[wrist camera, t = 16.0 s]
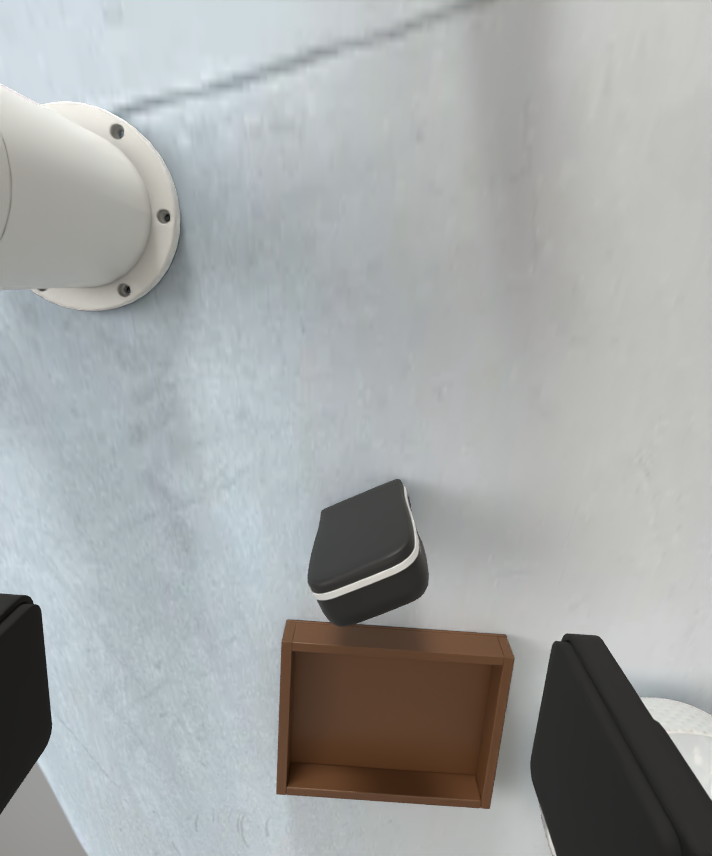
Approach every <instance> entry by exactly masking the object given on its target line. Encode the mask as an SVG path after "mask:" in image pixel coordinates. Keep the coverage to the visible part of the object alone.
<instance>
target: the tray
mask: <svg viewBox="0 0 712 856" xmlns="http://www.w3.org/2000/svg"><path fill="white" fill-rule="evenodd" d="M513 664H514V655H513V653H512V650H511V648H510V645H509V642H508V640H507V636H506V635H501V634H487V633H473V632H458V631H444V630H429V629H415V628H400V627H386V626H372V625H357V624H353V625H350V626H345V627H341V626H336V625H334V624H332V623H328V622H314V621H299V620H287V621H286V625H285V630H284V634H283V638H282V646H281V675H280V704H279V733H278V762H277V790H276V794H281V795H286V794H287V795H298V796H313V797H327V798H341V799H356V800H370V801H384V802H398V803H413V804H427V805H441V806H455V807H470V808H484V809H490V804H491V798H492V792H493V786H494V780H495V773H496V767H497V761H498V755H499V749H500V743H501V737H502V731H503V725H504V719H505V713H506V707H507V701H508V694H509V688H510V682H511V676H512V670H513Z"/></svg>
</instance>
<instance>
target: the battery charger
mask: <svg viewBox="0 0 712 856" xmlns="http://www.w3.org/2000/svg"><path fill="white" fill-rule="evenodd" d="M411 511H412V510H411V504H410V500H409V497H408V494H407V489H406V487H405V485H403V484H402V482H401V480H399V479H396V480H393V481H391V482H388V483H386V484H383V485H381V486H378V487H376V488H373V489H371V490H368V491H366V492H364V493H361V494H359V495H356V496H354V497H352V498H349V499H347V500H345V501H342V502H340V503H337V504H335V505H333V506H330V507H328V508H326V509H324V510H322V512H321V517H320V523H319V528H318V532H317V535H316V538H315V542H314V545H313V549H312V553H311V558H310V563H309V570H308V584H309V589H310V592H311V593H312V595H313V597H314V598H315V599H316V600H317V601H318V603H319V605H320V607H321V609H322V611H323V613H324V614H325V616H326V617H327V619H328V620H329V621H330V622H331V623H332V624H334V625H336V626H341V627H345V626H350V625H353V624H356V623H359V622H362V621H365V620H367V619H370V618H373V617H375V616H378V615H381V614H383V613H386V612H388V611H391V610H393V609H396V608H398V607H401V606H403V605H406V604H408V603H411V602H413V601H415V600H416V599H418V598H419V597H421V596H422V595H423V594H424V592H425V590H426V588H427V586H428V578H429V573H428V565H427V559H426V554H425V550H424V547H423V544H422V541H421V539H420V537H419V534H418V532H417V529H416V525H415V522H414V519H413V515H412V512H411Z"/></svg>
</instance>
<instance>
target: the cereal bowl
mask: <svg viewBox="0 0 712 856" xmlns="http://www.w3.org/2000/svg"><path fill="white" fill-rule="evenodd" d="M640 699H641V700H642V702H643V703H644V705H645V707H646V708H647V710H648V711H649V713H650V714H651V716H652V717H653V719H654V720H656V721H658V722H659V723H660V724H661V725H662V727H663V728H664V729H665V730H666V732H667V733H668V735H669V736H670V738H671V739H672V741H673V742H674V744H675V745H676V747H677V748H678V750H679V751H680V753H681V754H682V756H683V758H684V759H685V761H686V762H687V764H688V765H689V767H690V768H691V770H692V771H693V773H694V774H695V776H696V777H697V779H698V780H699V782H700V783H701V785H702V786H703V788H704V789H705V791H706V792H707V794H708V795H709V797H710V798H711V800H712V715H710V714H708V713H706V712H704V711H703V710H701V709H698V708H695V707H694V706H692V705H687V704H685V703H683V702H677V701H674V700H671V699H663V698H651V697H647V698H646V697H640ZM540 810H541V807H540ZM541 818H542V822H543V827H544V830H545V834H546V838H547V840H548V844H549V848H550V850H551V853H552V856H557V855H556V852H555V849H554V846H553V843H552V840H551V837H550V834H549V831H548V828H547V825H546V822H545V819H544V816H543V813H542V810H541Z"/></svg>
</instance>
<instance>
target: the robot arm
mask: <svg viewBox="0 0 712 856" xmlns="http://www.w3.org/2000/svg"><path fill="white" fill-rule="evenodd" d="M122 131H124V136H123V137H122V138H120V133H121V132H122ZM167 214H169V215H170V221H169V222H167V221H166V220H165V216H166V215H167ZM179 235H180V208H179V201H178V195H177V192H176V189H175V186H174V183H173V180H172V177H171V174H170V172H169V170H168V169H167V167H166V165H165V163H164V161H163V159H162V157H161V156H160V155H159V153H158V152H157V151H156V149H155V148H154V147H153V146H152V144H151V143H150V142H149V140H147V139H146V138H145V137H144V136H143V135H142V134H141V133H140V132H139V131H138V130H136V129H135V128H134V127H133V126H132V125H130V124H129V123H127V122H126V121H124V120H123V119H121V118H120V117H118V116H116V115H114V114H112V113H110V112H108V111H106V110H104V109H102V108H99V107H96V106H92V105H88V104H85V103H80V102H65V101H61V102H54V103H48V104H42V105H40V104H38V103H36V102H34V101H32V100H31V99H29V98H27V97H25V96H23V95H21V94H19V93H17V92H15V91H14V90H12V89H10V88H8V87H6V86H4V85H2V84H0V290H19V289H30V290H31V291H32V292H34V293H35V294H37V295H39V296H41V297H42V298H44V299H46V300H48V301H49V302H52V303H55V304H57V305H60V306H63V307H66V308H70V309H76V310H82V311H101V310H109V309H115V308H119V307H121V306H124V305H127V304H130V303H133V302H134V301H136V300H138V299H139V298H141V297H142V296H144V295H146V294H147V293H148V292H149V291H150V290H151V289H152V288H153V287H155V286H156V285H157V284H158V283H159V282H160V280H161V279H162V277H163V276H164V274H165V273H166V271H167V270H168V269H169V267H170V264H171V262H172V260H173V257H174V255H175V253H176V249H177V244H178V240H179ZM128 286H129V287H130V290H131V292H130V294H129V293H128V292H127V290H126V289H127V287H128ZM51 730H52V720H51V709H50V699H49V688H48V677H47V667H46V656H45V645H44V635H43V624H42V613H41V608H40V607H39V606H38V605H36V604H33V601H32V599H31V597H29V596H27V595H13V594H0V814H1V813H2V811H3V810H4V808H5V807H6V805H7V803H8V802H9V801H10V799H11V798H12V796H13V795H14V793H15V792H16V790H17V789H18V788H19V786H20V785H21V783H22V782H23V780H24V779H25V777H26V776H27V774H28V773H29V771H30V770H31V768H32V767H33V765H34V764H35V763H36V761H37V760H38V758H39V757H40V755H41V754H42V752H43V751H44V749H45V748H46V746H47V744H48V741H49V739H50V735H51ZM531 777H532V782H533V785H534V788H535V791H536V794H537V797H538V801H539V804H540V807H541V810H542V813H543V816H544V819H545V822H546V825H547V828H548V831H549V834H550V837H551V840H552V843H553V846H554V849H555V852H556V855H557V856H712V800H711V798H710V797H709V795H708V794H707V792H706V791H705V789H704V788H703V786H702V785H701V783H700V782H699V780H698V779H697V777H696V776H695V774H694V773H693V771H692V770H691V768H690V767H689V765H688V764H687V762H686V761H685V759H684V758H683V756H682V754H681V753H680V751H679V750H678V748H677V747H676V745H675V744H674V742H673V741H672V739H671V738H670V736H669V735H668V733H667V732H666V730H665V729H664V728H663V727H662V725H661V724H660V723H659V722H658V721H656V720H654V719H653V717H652V716H651V714H650V713H649V711H648V710H647V708H646V707H645V705H644V703H643V702H642V700H641V699H640V697H639V696H638V694H637V693H636V691H635V690H634V688H633V686H632V685H631V683H630V682H629V680H628V679H627V677H626V676H625V674H624V673H623V671H622V670H621V668H620V666H619V665H618V663H617V662H616V660H615V659H614V657H613V656H612V654H611V653H610V651H609V649H608V648H607V646H606V645H605V643H604V642H603V640H602V639H601V638H600V637H599V636H595V635H580V634H565V635H564V636H563V638H562V641H555V642H554V643H553V645H552V649H551V654H550V659H549V664H548V670H547V675H546V680H545V686H544V691H543V696H542V702H541V707H540V712H539V718H538V723H537V728H536V734H535V739H534V744H533V750H532V755H531Z"/></svg>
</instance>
